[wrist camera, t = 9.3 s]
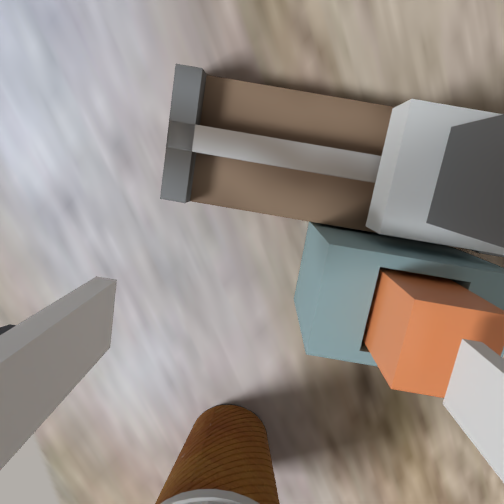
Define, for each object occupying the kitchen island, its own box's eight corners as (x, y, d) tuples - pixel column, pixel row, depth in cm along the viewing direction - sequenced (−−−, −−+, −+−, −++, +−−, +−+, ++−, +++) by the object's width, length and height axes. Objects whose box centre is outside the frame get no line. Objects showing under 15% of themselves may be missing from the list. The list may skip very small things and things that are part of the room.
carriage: (392, 108, 22) (560, 25, 10) (511, 128, 22) (836, 71, 10) (365, 226, 24) (480, 288, 11) (476, 245, 24) (719, 329, 11)
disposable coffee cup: (228, 363, 30) (205, 484, 19) (310, 441, 32) (337, 600, 20) (148, 435, 32) (80, 588, 20) (229, 506, 33) (209, 691, 21)
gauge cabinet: (309, 221, 28) (329, 244, 19) (453, 245, 28) (540, 280, 19) (293, 302, 29) (305, 359, 20) (430, 326, 29) (502, 392, 20)
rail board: (187, 78, 26) (175, 63, 23) (506, 132, 26) (544, 126, 23) (173, 195, 28) (160, 198, 24) (473, 246, 28) (503, 257, 24)
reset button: (368, 260, 22) (415, 299, 15) (437, 271, 22) (513, 316, 15) (353, 324, 23) (390, 389, 16) (419, 335, 23) (484, 404, 16)
